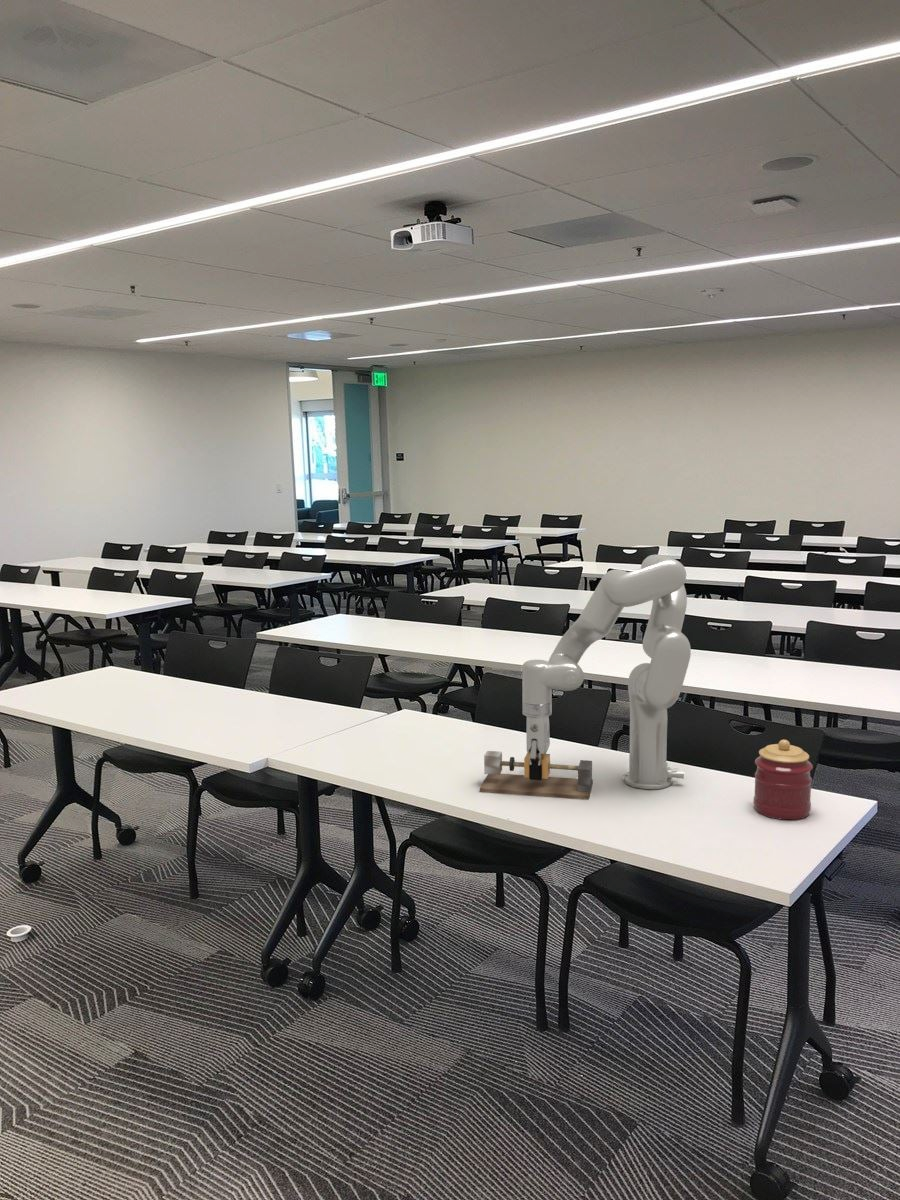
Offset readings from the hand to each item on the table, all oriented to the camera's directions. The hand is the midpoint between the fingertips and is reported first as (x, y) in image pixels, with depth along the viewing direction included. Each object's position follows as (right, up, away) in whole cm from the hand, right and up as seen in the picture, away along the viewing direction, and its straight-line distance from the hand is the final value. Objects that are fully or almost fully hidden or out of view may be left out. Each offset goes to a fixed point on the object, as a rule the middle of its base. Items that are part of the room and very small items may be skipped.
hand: (537, 775), depth 235 cm
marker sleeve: (0, 0, 0) cm, 0 cm away
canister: (+57, -5, -17) cm, 60 cm away
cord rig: (0, -3, +1) cm, 3 cm away
